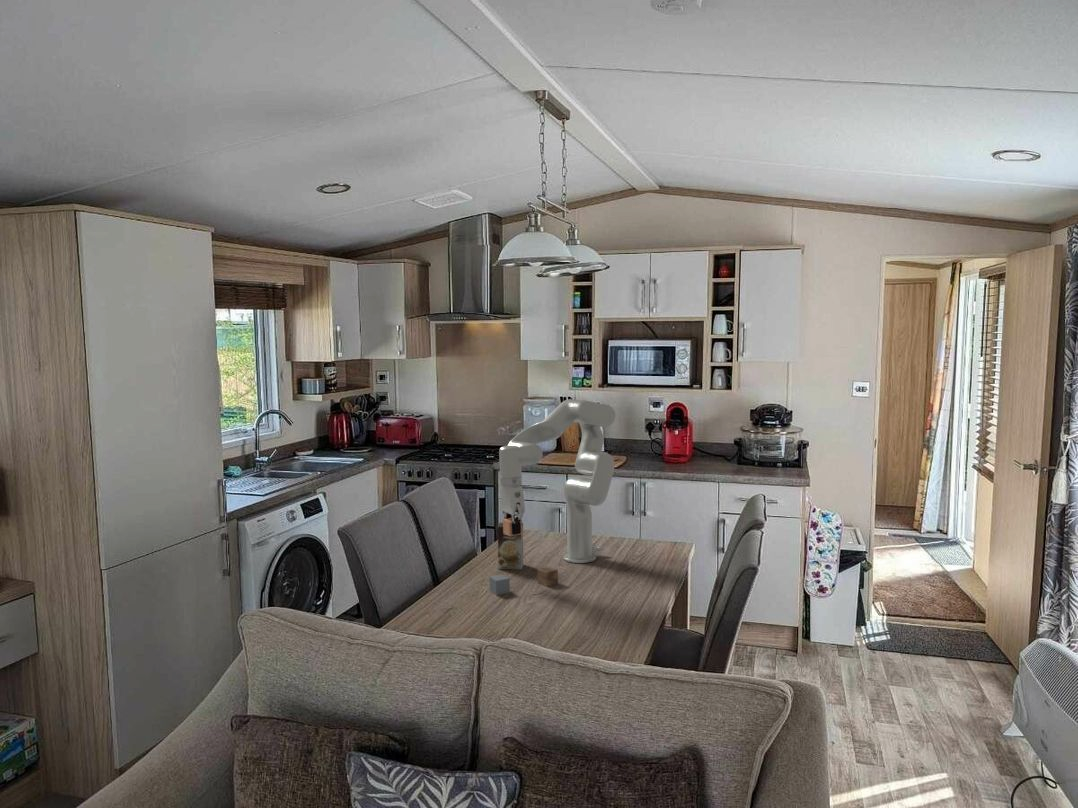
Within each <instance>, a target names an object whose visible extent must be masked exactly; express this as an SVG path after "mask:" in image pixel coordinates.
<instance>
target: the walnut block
mask: <svg viewBox="0 0 1078 808" xmlns="http://www.w3.org/2000/svg"><path fill="white" fill-rule="evenodd" d="M558 571H559V570H558V568H554V567H552V566H549V565H548V566H545V567H541V568H538V569H537V584H539V585H542V586H544V587H550V586H553V585H557V584H559V572H558Z"/></svg>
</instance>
